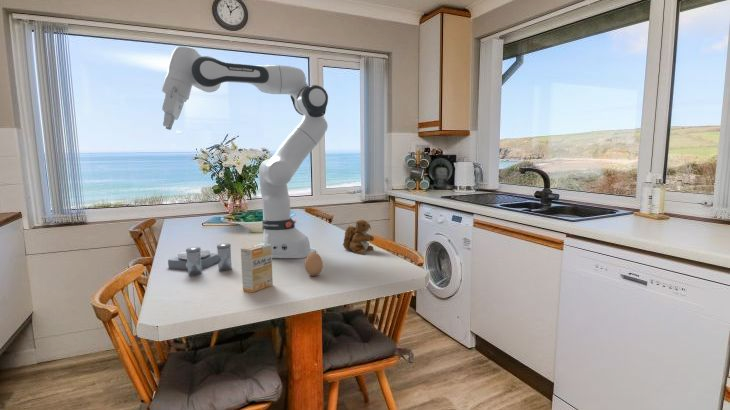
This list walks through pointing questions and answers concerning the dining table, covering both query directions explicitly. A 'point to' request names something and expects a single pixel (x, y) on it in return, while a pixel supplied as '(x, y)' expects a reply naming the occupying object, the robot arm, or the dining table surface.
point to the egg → (313, 264)
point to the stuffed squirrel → (358, 237)
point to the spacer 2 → (224, 257)
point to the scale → (182, 264)
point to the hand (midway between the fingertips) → (166, 127)
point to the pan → (184, 255)
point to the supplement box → (256, 267)
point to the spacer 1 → (194, 261)
